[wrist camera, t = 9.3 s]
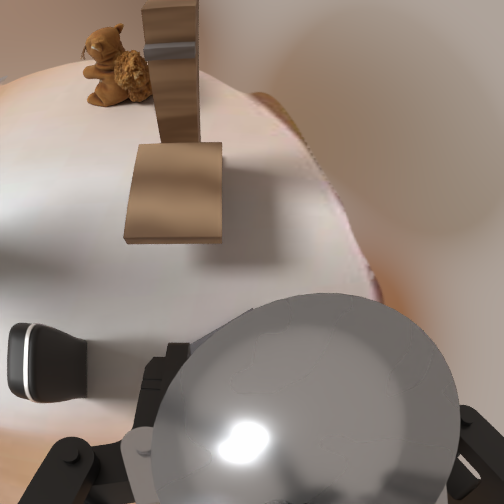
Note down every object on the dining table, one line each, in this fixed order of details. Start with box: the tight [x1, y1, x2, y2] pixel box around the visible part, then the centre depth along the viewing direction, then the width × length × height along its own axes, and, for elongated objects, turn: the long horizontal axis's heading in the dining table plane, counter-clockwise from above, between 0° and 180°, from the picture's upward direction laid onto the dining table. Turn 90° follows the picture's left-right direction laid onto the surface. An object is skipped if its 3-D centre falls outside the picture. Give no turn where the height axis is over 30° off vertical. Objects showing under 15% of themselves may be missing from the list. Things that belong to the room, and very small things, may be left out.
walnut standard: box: [123, 0, 222, 244], centre depth 27 cm, size 16×9×24 cm, turn 3°
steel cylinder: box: [151, 293, 460, 504], centre depth 10 cm, size 5×5×14 cm
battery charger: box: [7, 323, 87, 403], centre depth 24 cm, size 7×4×11 cm, turn 3°
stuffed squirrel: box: [81, 23, 153, 107], centre depth 39 cm, size 10×14×13 cm
